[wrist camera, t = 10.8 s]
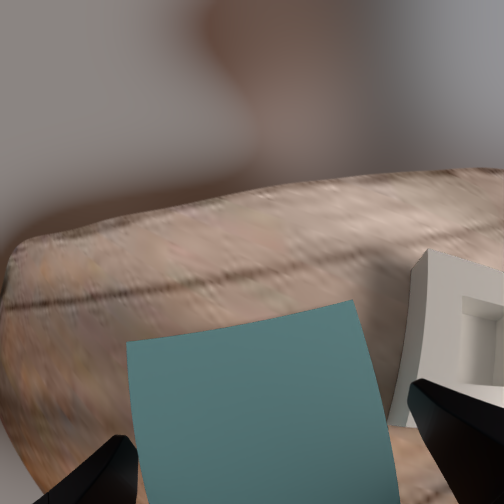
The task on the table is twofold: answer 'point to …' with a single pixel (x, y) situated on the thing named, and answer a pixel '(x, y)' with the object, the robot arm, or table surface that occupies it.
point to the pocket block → (452, 332)
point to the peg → (262, 414)
